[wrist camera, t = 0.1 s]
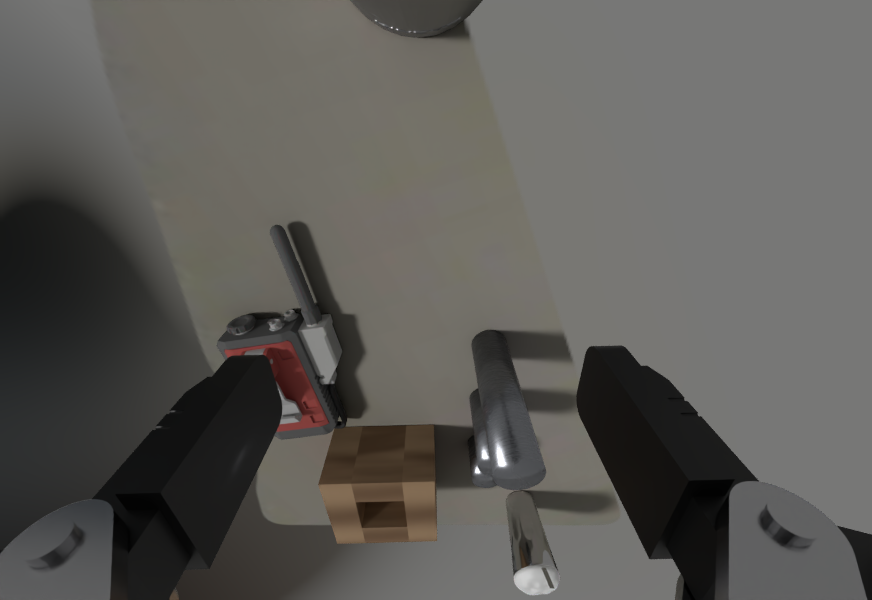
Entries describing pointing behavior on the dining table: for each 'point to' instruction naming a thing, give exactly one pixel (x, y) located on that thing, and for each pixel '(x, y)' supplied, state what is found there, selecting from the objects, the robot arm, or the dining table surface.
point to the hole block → (381, 484)
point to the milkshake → (530, 547)
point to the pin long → (505, 415)
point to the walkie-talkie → (294, 355)
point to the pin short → (476, 475)
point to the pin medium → (480, 434)
